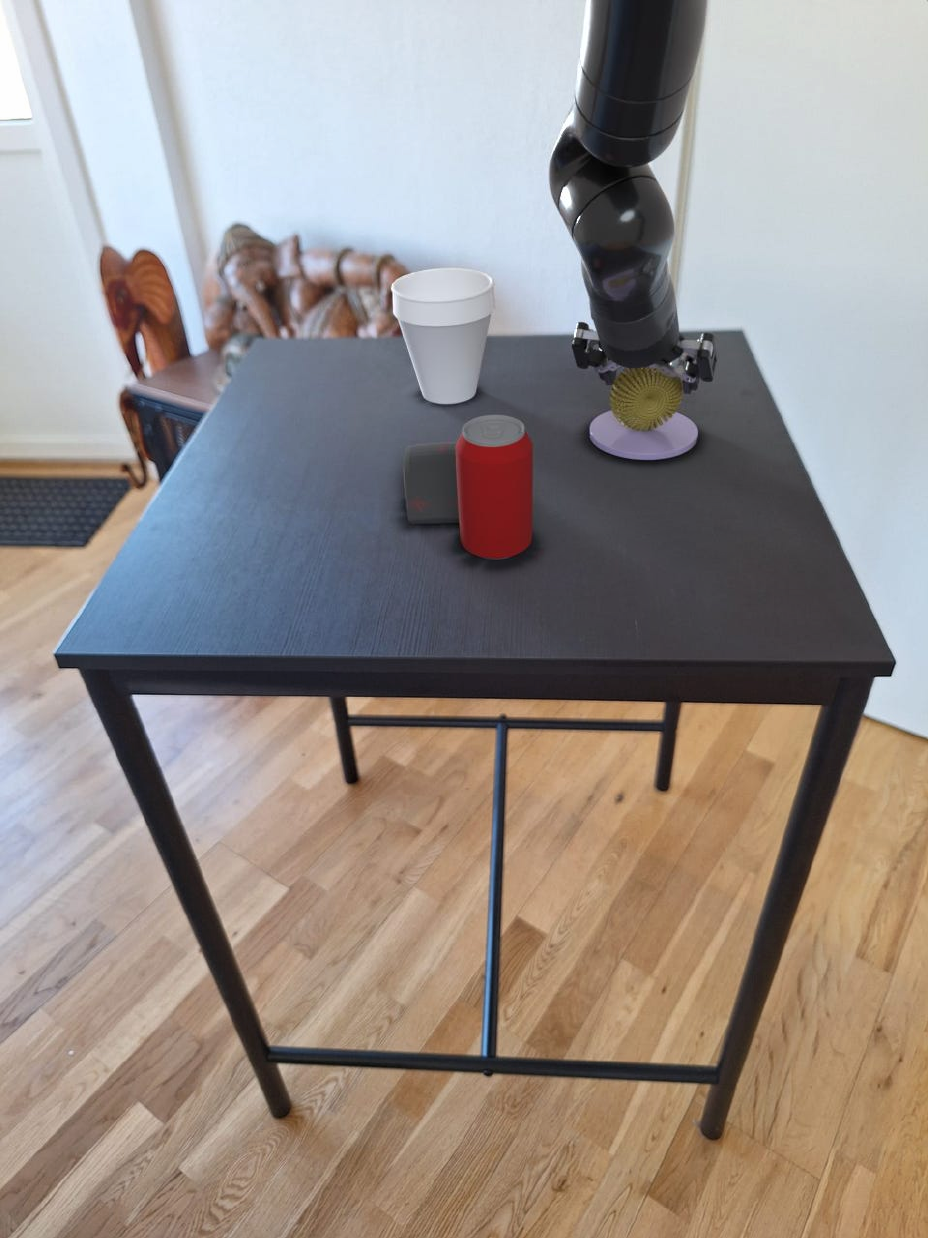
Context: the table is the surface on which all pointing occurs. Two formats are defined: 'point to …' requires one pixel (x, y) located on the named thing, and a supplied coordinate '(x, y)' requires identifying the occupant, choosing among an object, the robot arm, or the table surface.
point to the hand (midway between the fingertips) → (649, 381)
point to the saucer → (643, 437)
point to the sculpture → (644, 398)
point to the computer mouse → (431, 483)
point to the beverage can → (495, 486)
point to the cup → (445, 328)
